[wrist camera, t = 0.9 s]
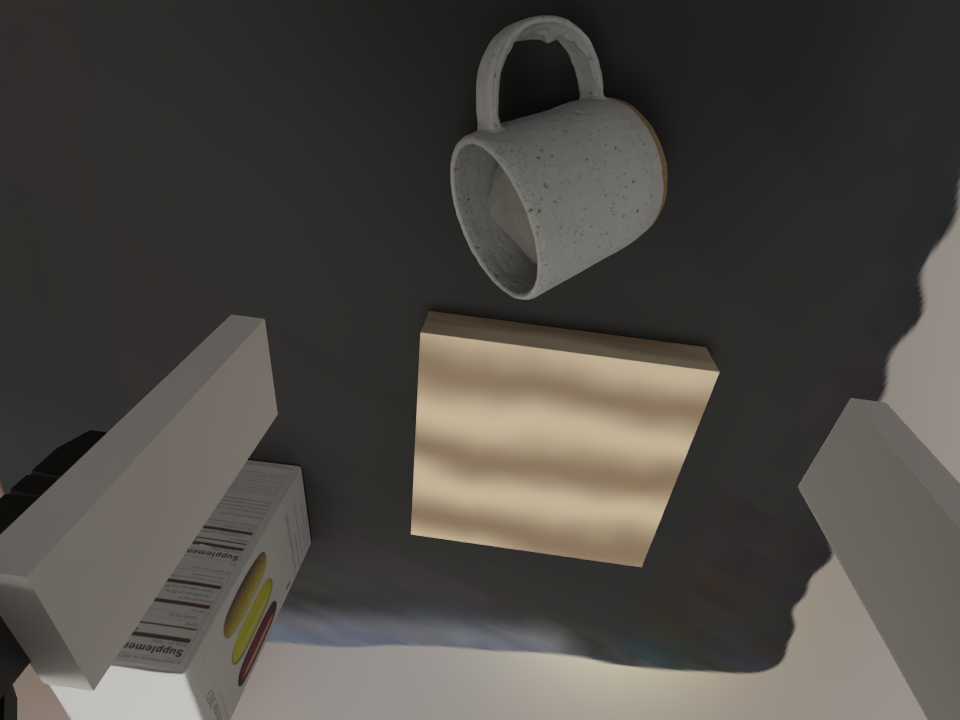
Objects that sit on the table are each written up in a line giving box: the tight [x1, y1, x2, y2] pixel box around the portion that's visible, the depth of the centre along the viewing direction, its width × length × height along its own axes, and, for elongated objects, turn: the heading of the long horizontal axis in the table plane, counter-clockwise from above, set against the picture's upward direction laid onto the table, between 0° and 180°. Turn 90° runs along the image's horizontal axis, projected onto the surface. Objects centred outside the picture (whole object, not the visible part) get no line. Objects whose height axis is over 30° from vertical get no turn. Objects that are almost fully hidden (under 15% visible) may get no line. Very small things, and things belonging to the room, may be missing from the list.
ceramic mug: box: [450, 15, 667, 300], centre depth 24 cm, size 11×8×8 cm
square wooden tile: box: [411, 311, 719, 567], centre depth 38 cm, size 18×18×3 cm
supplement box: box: [49, 460, 311, 720], centre depth 38 cm, size 10×9×17 cm
